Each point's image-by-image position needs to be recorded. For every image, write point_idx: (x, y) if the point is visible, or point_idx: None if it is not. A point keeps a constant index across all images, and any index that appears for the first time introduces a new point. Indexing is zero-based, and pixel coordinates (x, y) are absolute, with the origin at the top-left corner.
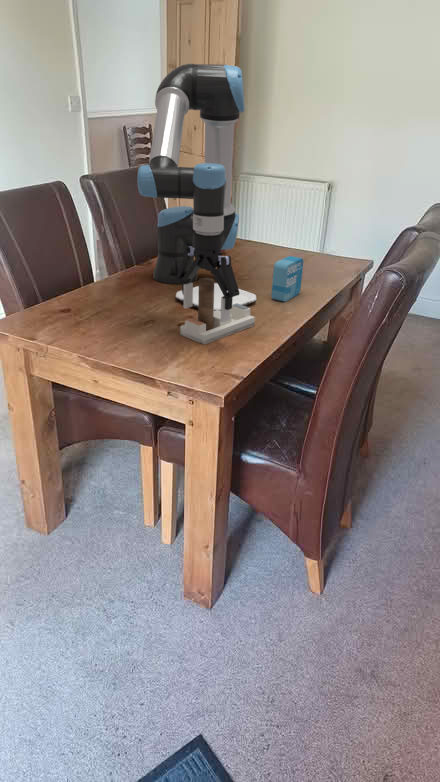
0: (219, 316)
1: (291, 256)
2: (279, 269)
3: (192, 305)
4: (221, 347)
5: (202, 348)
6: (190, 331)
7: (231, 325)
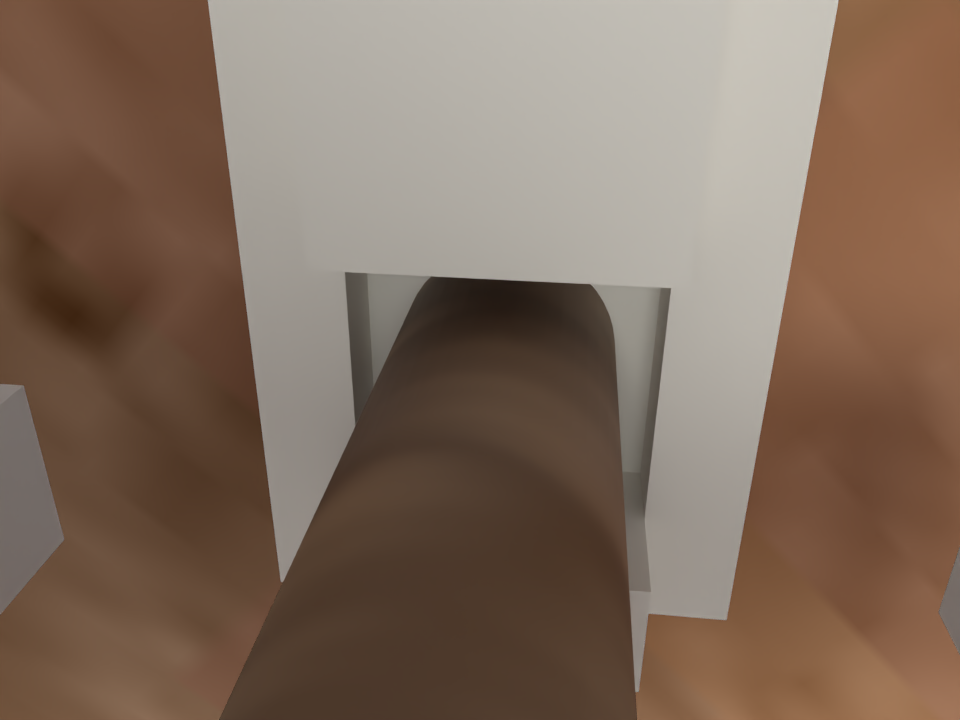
0: (583, 193)
1: None
2: None
3: (13, 393)
4: (925, 475)
5: (755, 611)
6: None
7: (815, 65)
